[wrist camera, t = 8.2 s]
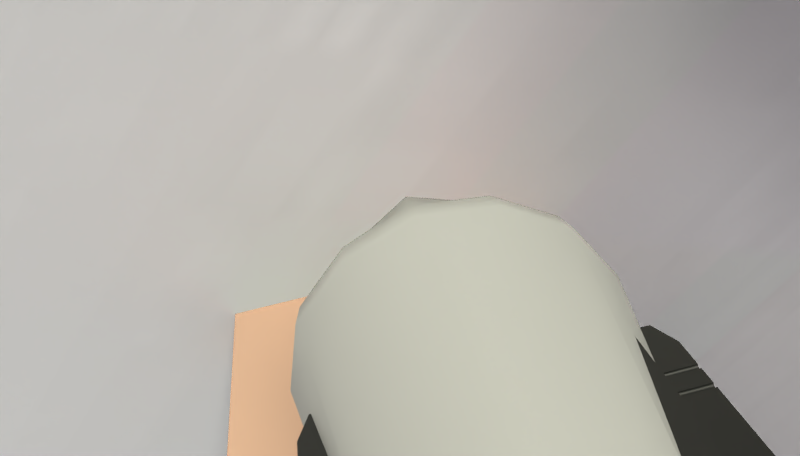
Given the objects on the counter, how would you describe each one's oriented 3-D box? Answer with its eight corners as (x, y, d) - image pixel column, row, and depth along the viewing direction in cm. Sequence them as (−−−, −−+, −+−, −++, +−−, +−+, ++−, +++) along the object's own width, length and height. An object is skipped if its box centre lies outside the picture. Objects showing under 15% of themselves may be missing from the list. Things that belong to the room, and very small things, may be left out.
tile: (235, 313, 27) (218, 606, 17) (544, 238, 28) (714, 473, 17) (252, 361, 28) (246, 664, 18) (549, 287, 29) (711, 536, 19)
